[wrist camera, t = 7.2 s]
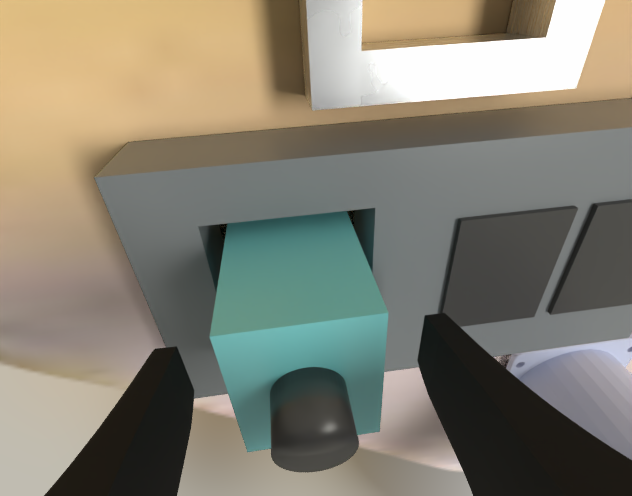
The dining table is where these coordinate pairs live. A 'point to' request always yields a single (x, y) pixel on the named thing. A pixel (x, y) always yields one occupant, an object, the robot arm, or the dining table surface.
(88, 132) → the dining table surface
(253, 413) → the plug
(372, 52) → the grey rectangular frame
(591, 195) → the switch box
